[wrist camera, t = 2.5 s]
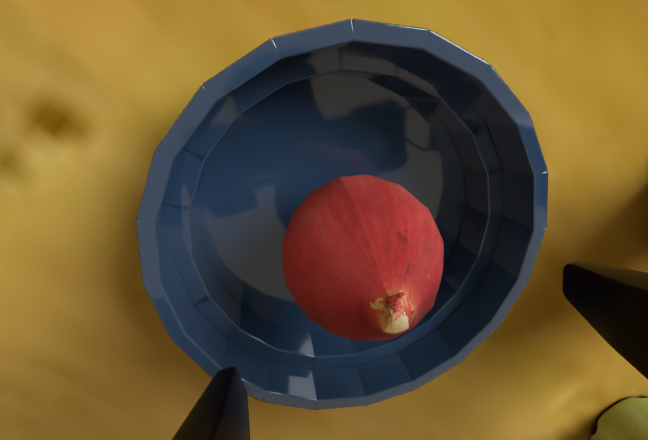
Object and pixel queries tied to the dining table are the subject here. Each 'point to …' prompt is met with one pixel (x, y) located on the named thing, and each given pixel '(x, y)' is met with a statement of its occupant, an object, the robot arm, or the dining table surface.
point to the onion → (363, 258)
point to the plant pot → (624, 421)
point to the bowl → (318, 169)
